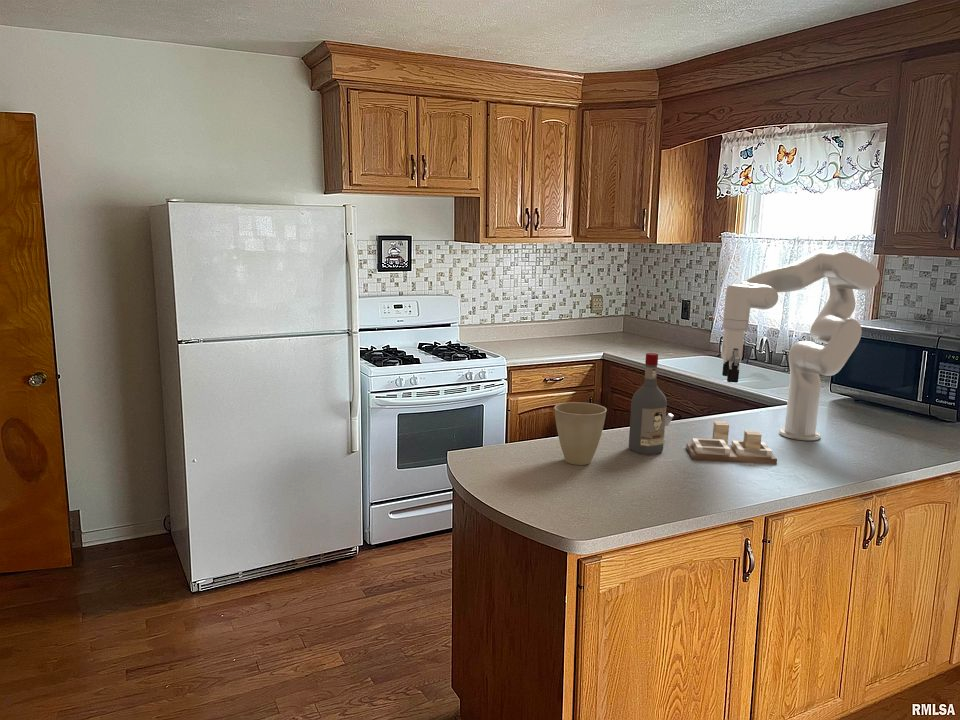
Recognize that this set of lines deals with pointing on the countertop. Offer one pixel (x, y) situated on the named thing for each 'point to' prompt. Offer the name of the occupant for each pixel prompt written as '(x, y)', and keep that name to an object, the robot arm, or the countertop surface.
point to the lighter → (668, 420)
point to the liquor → (648, 413)
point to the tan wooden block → (720, 430)
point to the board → (732, 449)
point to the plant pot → (579, 430)
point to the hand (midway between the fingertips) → (729, 379)
